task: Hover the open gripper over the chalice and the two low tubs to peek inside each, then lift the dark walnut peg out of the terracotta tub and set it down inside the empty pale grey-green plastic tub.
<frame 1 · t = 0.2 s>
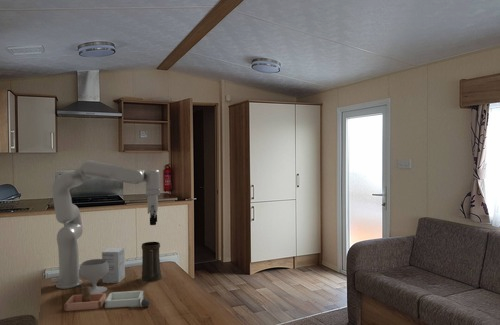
hand: (153, 223, 210), 31 cm above the table, fingers open, 9 cm apart
walnut peg: (86, 304, 176), point 1 cm above the table, touching terracotta tub
chalice: (94, 291, 194), on the table
beer stein: (152, 280, 211), on the table
supplement box: (114, 280, 212), on the table
grey tub: (125, 303, 178), on the table
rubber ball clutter: (145, 302, 174), point 2 cm above the table
terracotta tub: (86, 305, 176), on the table
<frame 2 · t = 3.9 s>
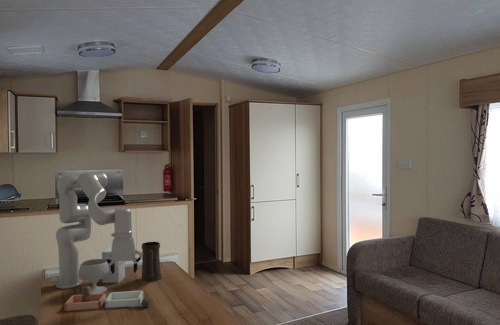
hand: (124, 272, 178), 14 cm above the table, fingers open, 9 cm apart
nothing on the table moved.
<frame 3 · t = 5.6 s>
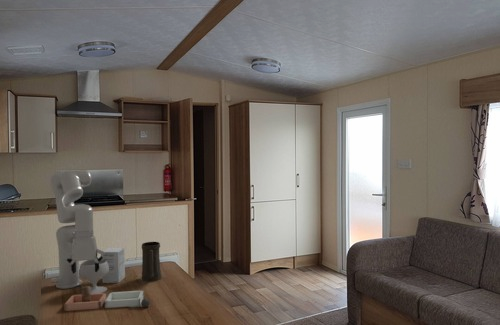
hand: (85, 271, 175), 16 cm above the table, fingers open, 9 cm apart
nothing on the table moved.
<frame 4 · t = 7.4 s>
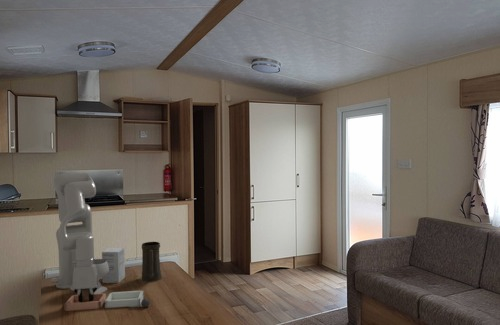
hand: (86, 302, 176), 2 cm above the table, fingers closed on walnut peg, 3 cm apart
walnut peg: (86, 304, 176), point 1 cm above the table, touching gripper, terracotta tub
everything else where it was.
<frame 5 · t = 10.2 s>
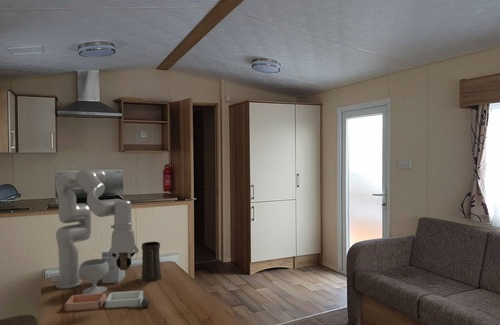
hand: (124, 266, 178), 17 cm above the table, fingers closed on walnut peg, 3 cm apart
walnut peg: (124, 269, 178), point 16 cm above the table, touching gripper
everything else where it was.
when the fingers open (3 cm above the table, at t = 12.9 s): walnut peg drops 2 cm, resting on grey tub.
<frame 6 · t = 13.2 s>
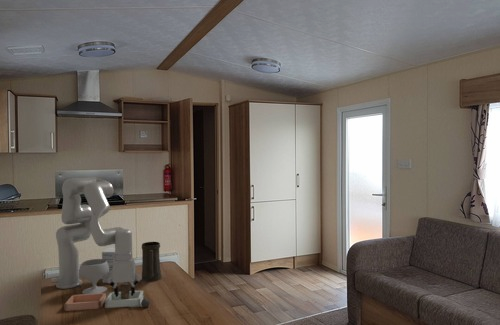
hand: (124, 295, 178), 4 cm above the table, fingers open, 6 cm apart
walnut peg: (125, 301, 178), point 1 cm above the table, touching grey tub
everything else where it was.
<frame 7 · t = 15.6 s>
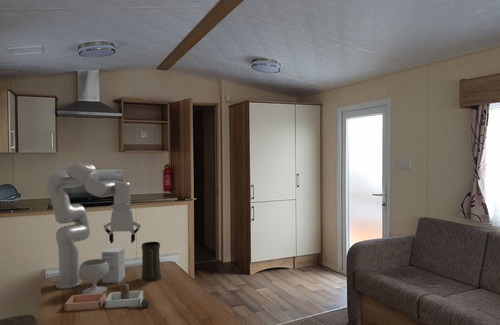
hand: (122, 242, 187), 26 cm above the table, fingers open, 9 cm apart
nothing on the table moved.
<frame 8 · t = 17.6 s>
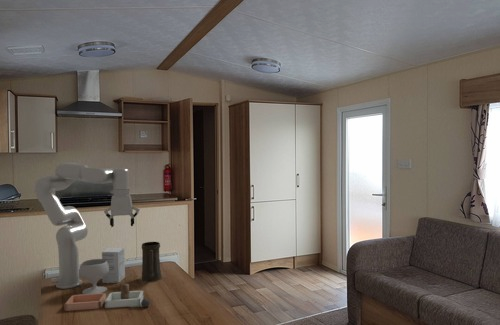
hand: (122, 226, 197), 32 cm above the table, fingers open, 9 cm apart
nothing on the table moved.
at the end: walnut peg inside the target area on the grey tub (0.1 cm from its centre), point 0.6 cm above the grey tub's base; walnut peg tilted 1°; the gripper is holding nothing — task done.
